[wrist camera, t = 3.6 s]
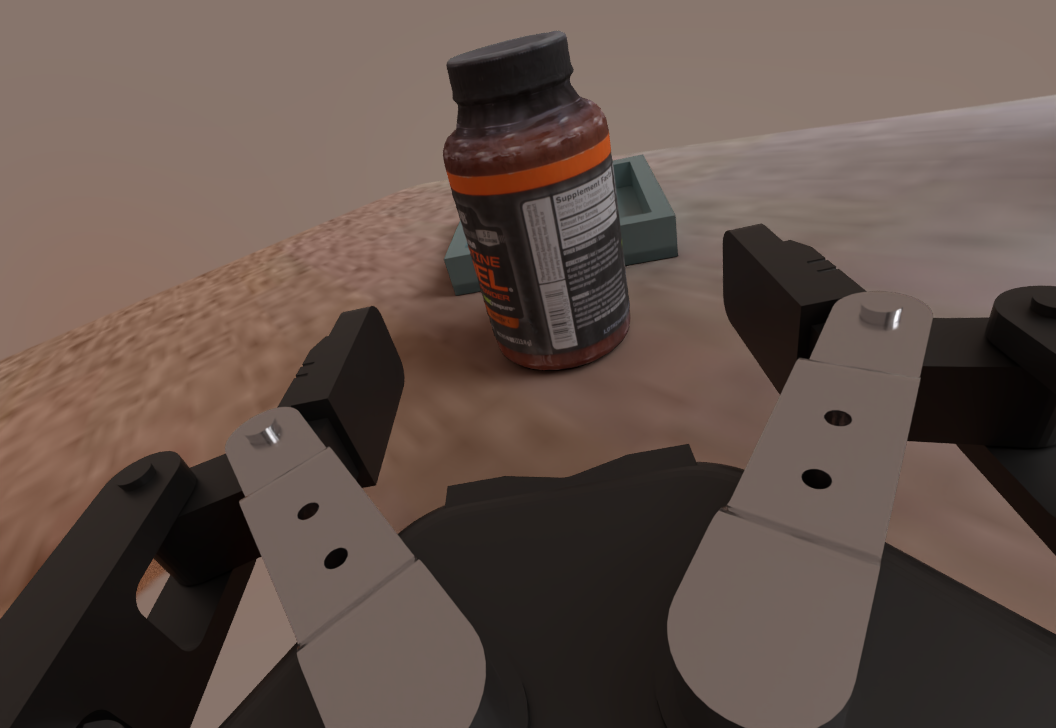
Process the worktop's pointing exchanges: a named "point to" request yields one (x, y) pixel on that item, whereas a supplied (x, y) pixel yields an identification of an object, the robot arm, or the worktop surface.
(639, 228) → the tray
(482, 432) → the worktop surface
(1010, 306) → the robot arm
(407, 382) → the worktop surface
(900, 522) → the worktop surface
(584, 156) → the supplement bottle
